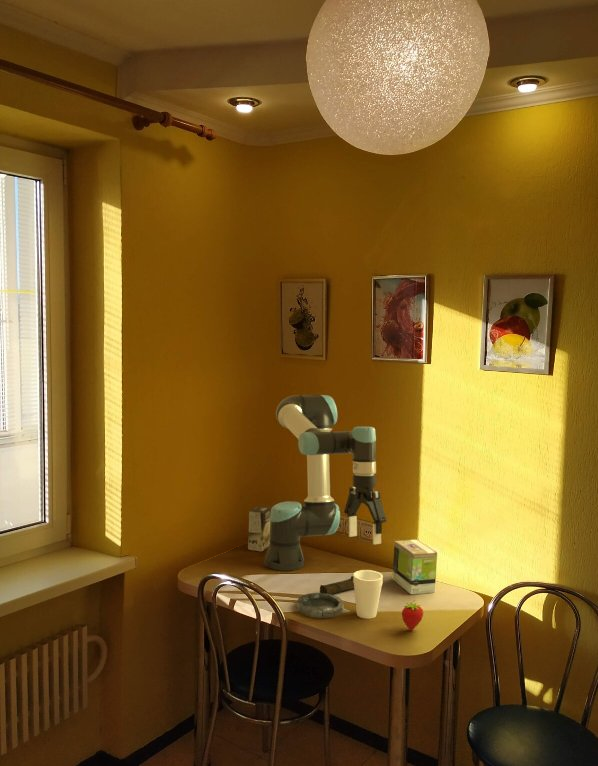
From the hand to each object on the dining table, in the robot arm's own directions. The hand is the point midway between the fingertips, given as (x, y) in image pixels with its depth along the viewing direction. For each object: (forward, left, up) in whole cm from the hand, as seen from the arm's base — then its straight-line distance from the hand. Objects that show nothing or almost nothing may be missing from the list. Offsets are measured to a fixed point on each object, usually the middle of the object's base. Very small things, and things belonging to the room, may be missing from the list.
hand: (364, 540), depth 227 cm
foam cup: (+4, 0, -23) cm, 24 cm away
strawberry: (+18, +9, -23) cm, 31 cm away
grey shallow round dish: (-4, -13, -23) cm, 27 cm away
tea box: (-14, +26, -24) cm, 38 cm away
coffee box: (-65, -18, -24) cm, 71 cm away
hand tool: (-16, 0, -24) cm, 29 cm away
